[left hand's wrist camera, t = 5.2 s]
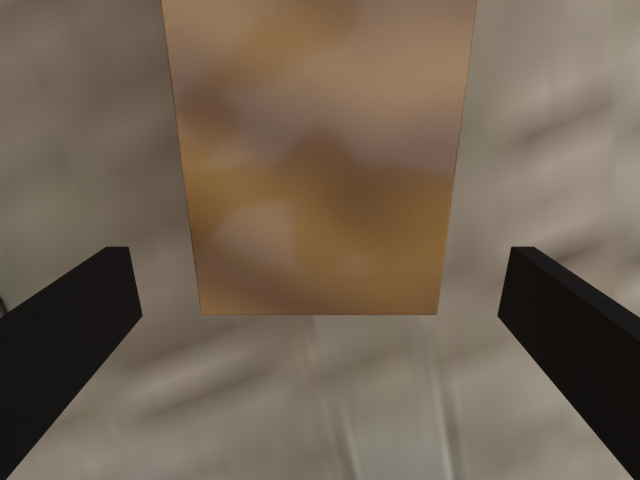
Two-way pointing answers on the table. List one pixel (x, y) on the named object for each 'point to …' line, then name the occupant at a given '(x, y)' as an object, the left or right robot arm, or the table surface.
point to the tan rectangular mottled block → (318, 149)
